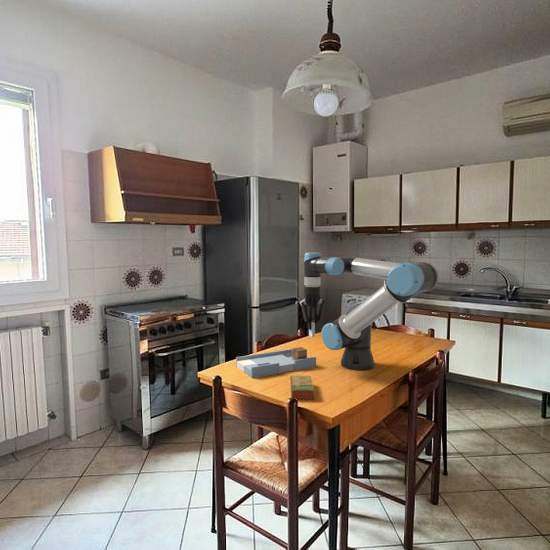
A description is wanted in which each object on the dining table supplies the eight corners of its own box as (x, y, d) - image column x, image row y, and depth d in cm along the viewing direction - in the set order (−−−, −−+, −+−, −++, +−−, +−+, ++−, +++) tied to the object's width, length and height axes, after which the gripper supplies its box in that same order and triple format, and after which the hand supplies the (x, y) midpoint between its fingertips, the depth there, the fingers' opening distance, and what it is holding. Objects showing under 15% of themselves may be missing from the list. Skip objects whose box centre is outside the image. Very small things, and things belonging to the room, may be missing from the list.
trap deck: (316, 366, 182) (316, 357, 182) (252, 378, 168) (252, 367, 167) (296, 357, 198) (296, 348, 198) (236, 366, 183) (236, 357, 183)
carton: (310, 385, 160) (310, 375, 159) (314, 401, 144) (314, 389, 143) (290, 385, 160) (290, 375, 159) (291, 401, 144) (291, 389, 144)
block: (306, 360, 183) (306, 349, 182) (297, 361, 180) (297, 350, 180) (301, 357, 187) (301, 347, 187) (291, 358, 185) (291, 348, 184)
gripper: (319, 284, 191) (319, 333, 193) (295, 285, 185) (295, 336, 187) (328, 286, 184) (328, 336, 186) (304, 287, 178) (304, 339, 180)
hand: (311, 336), depth 186 cm, fingers closed
